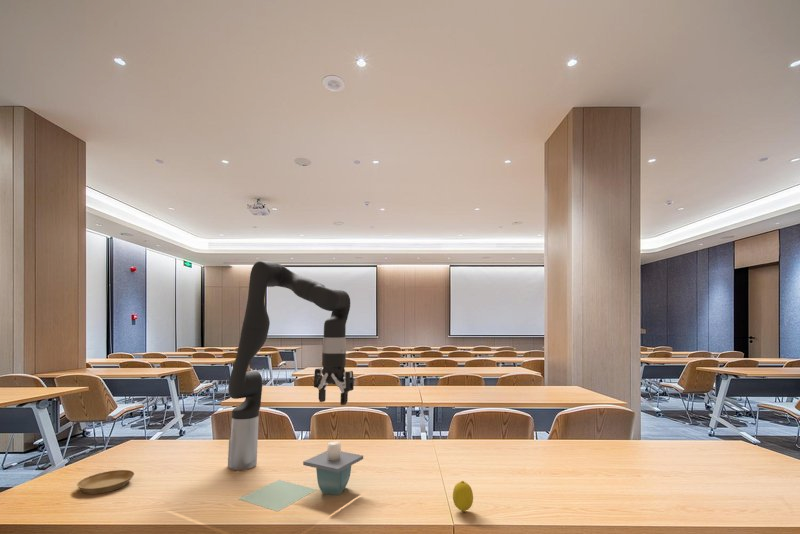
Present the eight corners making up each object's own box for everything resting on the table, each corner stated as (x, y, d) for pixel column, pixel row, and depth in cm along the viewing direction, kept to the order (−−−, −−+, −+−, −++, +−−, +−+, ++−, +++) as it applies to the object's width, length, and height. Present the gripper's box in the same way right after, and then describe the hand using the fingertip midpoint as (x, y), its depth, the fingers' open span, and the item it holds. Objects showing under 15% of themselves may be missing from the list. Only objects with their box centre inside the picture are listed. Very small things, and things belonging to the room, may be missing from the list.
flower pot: (342, 500, 116) (343, 467, 117) (314, 497, 118) (315, 465, 119) (352, 487, 125) (352, 457, 126) (325, 485, 126) (326, 455, 128)
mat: (237, 501, 116) (237, 498, 116) (279, 481, 130) (279, 479, 130) (277, 513, 108) (277, 511, 108) (316, 491, 122) (316, 489, 122)
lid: (303, 465, 120) (303, 446, 120) (330, 452, 131) (330, 435, 132) (337, 472, 114) (338, 452, 114) (363, 458, 125) (363, 440, 126)
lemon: (451, 507, 111) (450, 477, 112) (470, 506, 111) (469, 476, 113) (455, 517, 106) (454, 485, 107) (475, 516, 106) (475, 484, 107)
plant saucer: (115, 496, 120) (116, 487, 120) (63, 498, 119) (64, 488, 119) (143, 477, 134) (143, 469, 135) (97, 478, 133) (98, 470, 134)
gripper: (309, 351, 129) (307, 403, 127) (344, 353, 122) (343, 408, 120) (324, 349, 135) (323, 398, 133) (358, 351, 128) (357, 403, 126)
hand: (332, 403), depth 126 cm, fingers open, 8 cm apart
